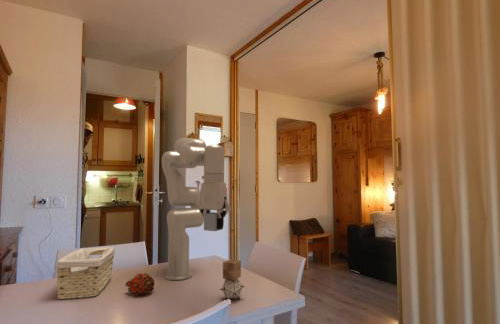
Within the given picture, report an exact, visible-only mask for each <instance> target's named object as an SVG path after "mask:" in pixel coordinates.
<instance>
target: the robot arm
mask: <svg viewBox="0 0 500 324" xmlns="http://www.w3.org/2000/svg"><path fill="white" fill-rule="evenodd" d="M196 167H203V175H202V176H201V179H202V180H203V182H201V184H200V185H201V186H200V189H199V188H198V187H197V186H195V187H194V186H186V185H185V177H184V175H183V174H182V173H181V172H180V171H179V170H178V169H195V168H196ZM161 168H162V170H163V173H164V176H165V180H166V187H167V197H168V198H167V199H168V203H169V204H170V206H172V207H177V208H173V209H171V210H169V211H168V213H167V215H166V223H167V230H168V232H167V233H168V253H167V254H168V255H167V256H168V262H167V264H164V267H162V271H166V272H165V274H164V279H166V280H168V281H183V280H187V279H190V278H192V276H193V272H192V271H191V270H190V236H189V234H188V233H187V232H186V230H185V229H191V228H192V229H193V228H200V227H201V226H203V225H204V213H211V211H213V210H214V211H216V213H217V214H218V218H217V229H222V228H223V229H224V224H225V223H224V222H225V221H224V218H226V216H227V214H228V213H229V212H230V211H231V210H232V207H231V205H230V204H229V203H228V190H227V185H226V182H225V148H224V146H222V145H218V144H210V145H207V143H206V142H205V141H204V140H203V139H201V138H192V137H181V138H179V139H177V140H176V141H175V143H174V150H169V151H165V152H163V154H162V157H161ZM180 207H181V208H180ZM223 229H222V230H223Z"/></svg>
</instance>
